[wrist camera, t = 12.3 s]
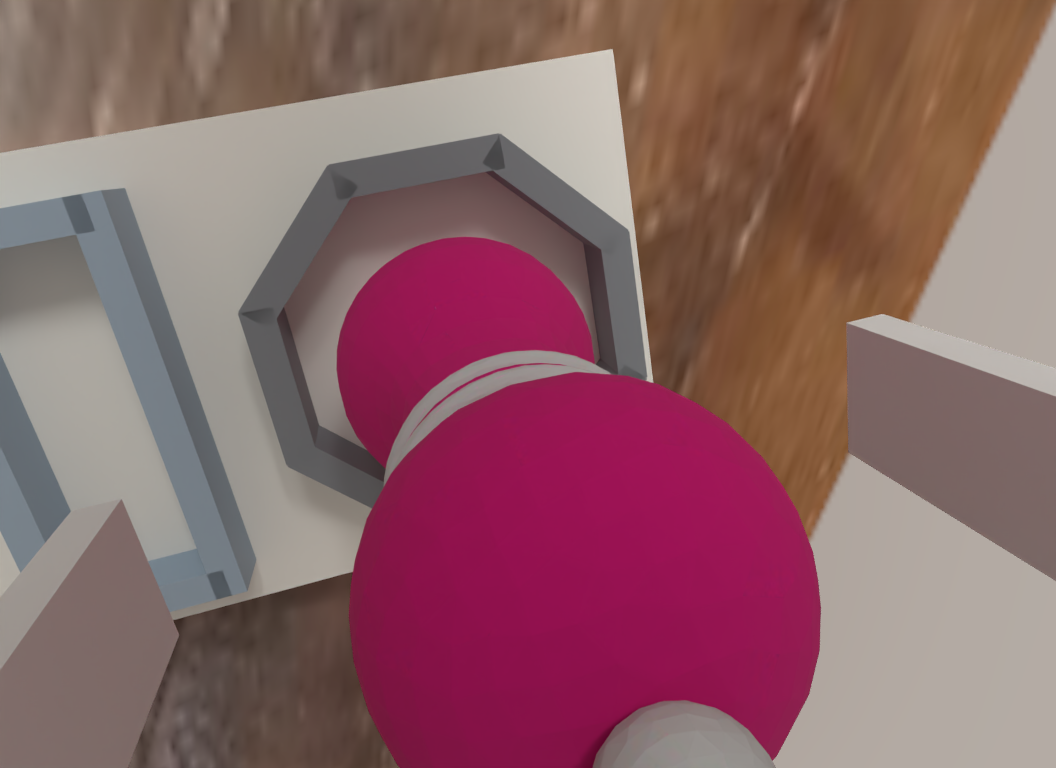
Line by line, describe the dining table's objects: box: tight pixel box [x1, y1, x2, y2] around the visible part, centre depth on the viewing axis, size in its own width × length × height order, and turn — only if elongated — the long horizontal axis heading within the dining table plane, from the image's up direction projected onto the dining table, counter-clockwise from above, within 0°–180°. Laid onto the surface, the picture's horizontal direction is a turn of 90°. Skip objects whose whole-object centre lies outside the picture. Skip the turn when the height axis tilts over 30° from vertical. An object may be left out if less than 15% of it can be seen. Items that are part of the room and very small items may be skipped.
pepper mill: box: [336, 237, 821, 768], centre depth 15 cm, size 7×7×20 cm
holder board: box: [0, 49, 653, 620], centre depth 23 cm, size 16×24×4 cm, turn 100°
